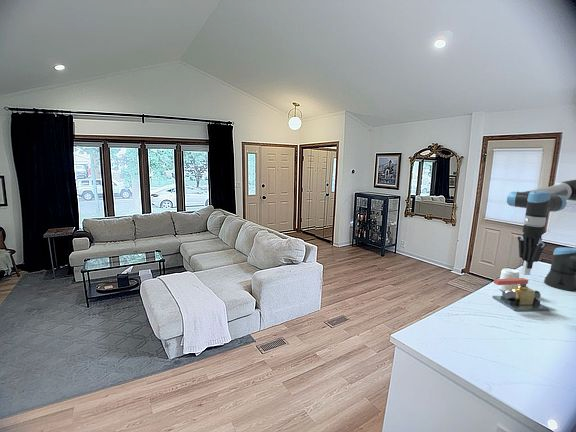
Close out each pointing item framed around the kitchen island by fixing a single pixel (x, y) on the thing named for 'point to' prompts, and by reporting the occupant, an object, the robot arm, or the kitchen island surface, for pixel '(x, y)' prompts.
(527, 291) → the valve fixture
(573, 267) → the robot arm
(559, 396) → the kitchen island surface
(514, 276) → the beverage can
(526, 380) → the kitchen island surface
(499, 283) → the lever
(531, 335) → the kitchen island surface
